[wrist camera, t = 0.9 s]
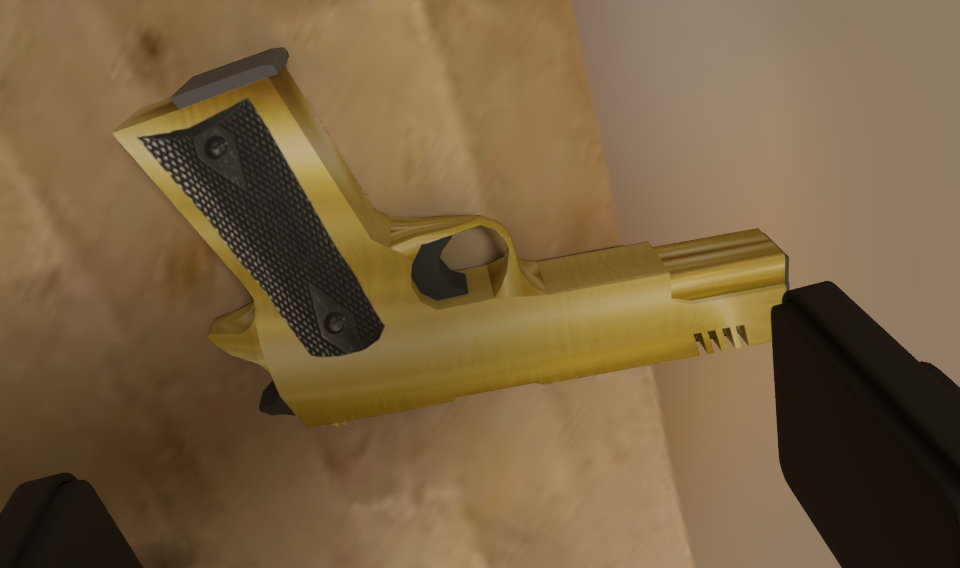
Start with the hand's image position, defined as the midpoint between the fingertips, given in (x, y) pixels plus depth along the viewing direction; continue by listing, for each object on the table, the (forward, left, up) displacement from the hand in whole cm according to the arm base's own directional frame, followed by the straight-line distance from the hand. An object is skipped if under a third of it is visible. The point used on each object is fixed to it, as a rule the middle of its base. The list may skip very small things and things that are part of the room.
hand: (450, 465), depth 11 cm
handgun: (-3, +2, -14) cm, 15 cm away
